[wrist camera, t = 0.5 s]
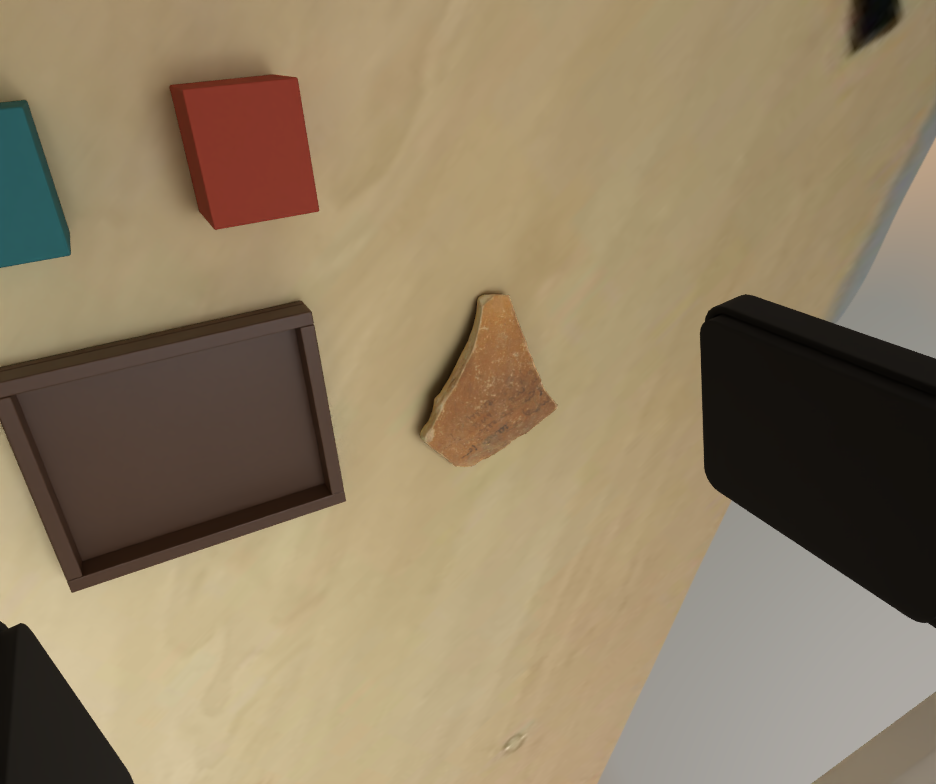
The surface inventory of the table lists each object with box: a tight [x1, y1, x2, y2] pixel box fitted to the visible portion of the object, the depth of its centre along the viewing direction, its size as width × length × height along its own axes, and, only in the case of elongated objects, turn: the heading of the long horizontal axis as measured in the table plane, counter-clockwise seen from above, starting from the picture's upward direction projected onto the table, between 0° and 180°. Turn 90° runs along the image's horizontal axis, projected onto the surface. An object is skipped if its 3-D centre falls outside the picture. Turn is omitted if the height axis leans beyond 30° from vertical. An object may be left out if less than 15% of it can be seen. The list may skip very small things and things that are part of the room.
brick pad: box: [170, 75, 319, 230], centre depth 35 cm, size 6×5×4 cm
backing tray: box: [0, 301, 346, 593], centre depth 41 cm, size 13×16×2 cm
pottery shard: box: [420, 294, 558, 467], centre depth 48 cm, size 10×9×2 cm
